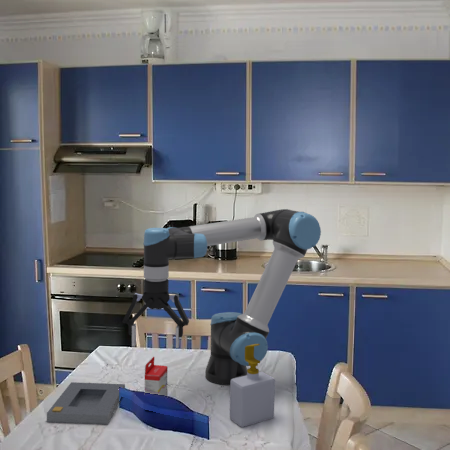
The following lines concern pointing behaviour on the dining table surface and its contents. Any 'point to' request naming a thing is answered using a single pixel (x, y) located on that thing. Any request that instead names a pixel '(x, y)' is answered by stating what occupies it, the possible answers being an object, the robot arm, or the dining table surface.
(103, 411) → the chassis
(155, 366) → the ink box
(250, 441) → the dining table surface
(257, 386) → the soap bottle
